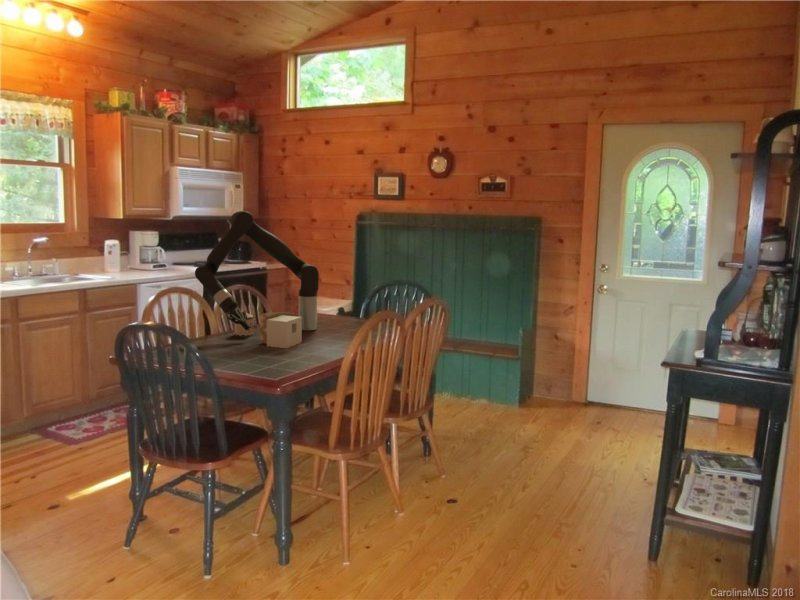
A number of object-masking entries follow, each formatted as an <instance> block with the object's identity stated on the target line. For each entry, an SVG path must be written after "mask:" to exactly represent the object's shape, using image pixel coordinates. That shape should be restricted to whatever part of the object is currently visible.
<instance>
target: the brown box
mask: <svg viewBox="0 0 800 600" xmlns="http://www.w3.org/2000/svg"><path fill="white" fill-rule="evenodd" d="M277 313H278V312H270V311H269V312H265V313H261V314H259V343H260V344H266V345H267V320H268V319H272V318H275V317H277ZM294 331H296V324H292V332H294Z"/></svg>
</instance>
